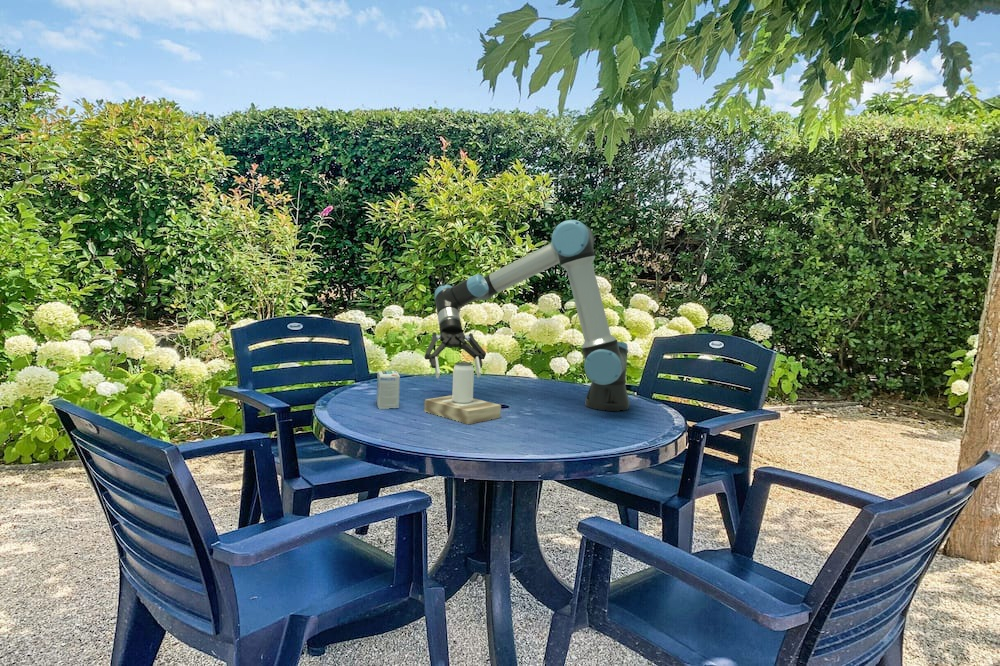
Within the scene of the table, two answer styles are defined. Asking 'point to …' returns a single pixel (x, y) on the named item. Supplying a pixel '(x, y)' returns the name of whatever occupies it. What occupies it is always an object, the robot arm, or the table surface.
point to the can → (463, 383)
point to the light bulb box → (388, 389)
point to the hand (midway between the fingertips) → (459, 375)
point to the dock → (463, 409)
